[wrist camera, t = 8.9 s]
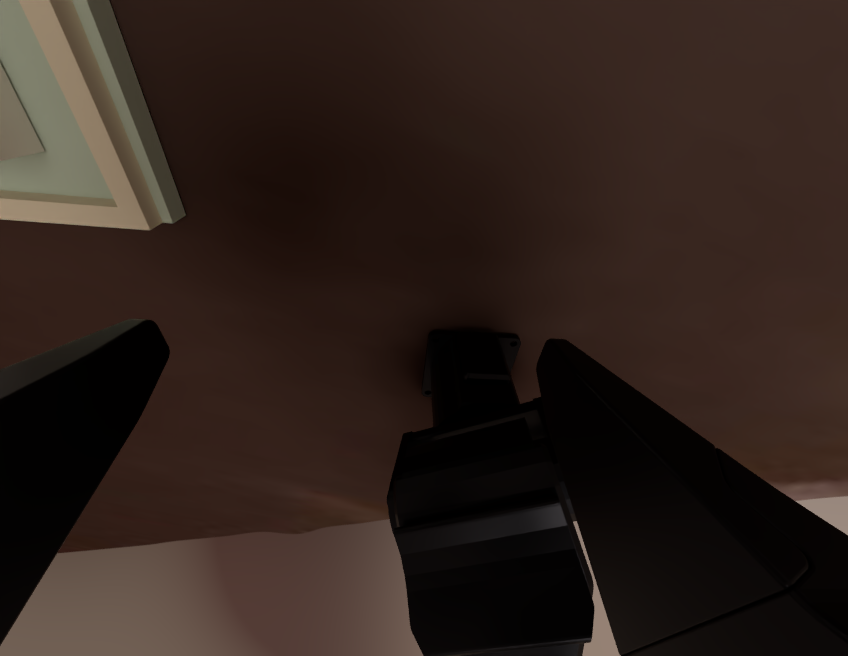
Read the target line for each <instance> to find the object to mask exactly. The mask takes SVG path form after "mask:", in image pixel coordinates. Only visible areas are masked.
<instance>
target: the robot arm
mask: <svg viewBox="0 0 848 656" xmlns="http://www.w3.org/2000/svg"><path fill="white" fill-rule="evenodd" d="M434 337H438V338H437V339H434ZM513 341H515V342H514V343H511V342H513ZM520 345H521V341H520V339H519V337H518V336H517V335H508V334H490V333H472V332H454V331H432V332H431V333H429V336H428V344H427V351H426V359H425V367H424V375H423V382H422V394H423V396H426V397H432V412H433V427H432V428H428V429H425V430H421V431H417V432H412V431H411V432H407V433H404V434H403V436H402V440H401V444H400V448H399V452H398V455H397V459H396V463H395V467H394V471H393V474H392V478H391V482H390V487H389V491H388V495H387V504H388V508H389V517H390V523H391V527H392V531H393V534H394V537H395V539H396V542H397V546H398V549H399V552H400V555H401V559H402V564H403V569H404V574H405V581H406V588H407V597H408V607H409V618H410V626H411V630H412V633H413V635H414V637H415V639H416V641H417V643H418V645H419V647H420V649H421V651H422V653H423V655H424V656H582V653H583V647H584V643H589V642H591V639H592V631H593V619H594V603H593V600H592V595H593V580H592V576H591V573H590V570H589V567H588V564H587V562H586V559H585V556H584V553H583V550H582V547H581V544H580V541H579V538H578V535H577V532H576V529H575V527H574V524H573V521H577V523H578V526H579V529H580V532H581V535H582V538H583V542H584V545H585V548H586V551H587V554H588V557H589V560H590V564H591V567H592V570H593V573H594V576H595V579H596V582H597V586H598V589H599V592H600V595H601V598H602V601H603V604H604V608H605V610H606V614H607V617H608V620H609V623H610V626H611V629H612V633H613V636H614V639H615V642H616V645H617V648H618V652H619V654H620V655H621V656H848V535H846V534H845V533H843V532H842V531H840V530H838V529H837V528H835V527H834V526H832V525H831V524H829V523H828V522H826V521H824V520H823V519H822V518H820V517H818V516H817V515H815V514H814V513H812V512H811V511H809V510H808V509H806V508H805V507H803V506H802V505H800V504H798V503H797V502H796V501H794V500H793V499H791V498H789V497H788V496H786V495H785V494H783V493H782V492H780V491H779V490H777V489H776V488H774V487H773V486H771V485H770V484H769V483H767V482H766V481H764V480H763V479H761V478H760V477H758V476H757V475H756V474H754V473H753V472H751V471H750V470H748V469H747V468H746V467H744V466H743V465H741V464H740V463H738V462H737V461H736V460H734V459H733V458H731V457H730V456H729V455H727V454H726V453H724V452H723V451H722V450H720V449H718V448H715V446H714V445H713V444H712V443H710V442H709V441H707V440H706V439H705V438H703V437H702V436H700V435H699V434H698V433H696V432H695V431H693V430H692V429H691V428H689V427H688V426H686V425H685V424H684V423H682V422H681V421H679V420H678V419H677V418H675V417H674V416H672V415H671V414H670V413H668V412H667V411H665V410H664V409H663V408H661V407H660V406H658V405H657V404H656V403H654V402H653V401H651V400H650V399H649V398H647V397H646V396H644V395H643V394H642V393H640V392H639V391H637V390H636V389H635V388H633V387H632V386H630V385H629V384H628V383H626V382H625V381H623V380H622V379H621V378H619V377H618V376H616V375H615V374H614V373H612V372H611V371H609V370H608V369H607V368H605V367H604V366H602V365H601V364H599V363H598V362H597V361H595V360H594V359H592V358H591V357H590V356H588V355H587V354H585V353H584V352H583V351H581V350H580V349H578V348H577V347H576V346H574V345H573V344H571V343H570V342H569V341H567V340H565V339H548V340H547V341H546V343H545V345H544V347H543V350H542V352H541V355H540V357H539V360H538V362H537V368H536V371H537V377H538V382H539V387H540V393H541V397H539V398H535V399H533V401H530V402H526V403H522V404H520V402H519V399H518V396H517V393H516V390H515V387H514V384H513V380H512V377H511V374H510V372H511V369H512V367H513V364H514V361H515V358H516V356H517V353H518V350H519V347H520ZM169 354H170V350H169V346H168V344H167V343H166V341H165V339H164V337H163V335H162V333H161V331H160V329H159V327H158V326H157V324H156V323H155V322H154V321H152V320H147V319H129V320H126V321H123V322H121V323H118V324H116V325H113V326H111V327H108V328H106V329H103V330H100V331H98V332H95V333H93V334H90V335H88V336H85V337H83V338H80V339H77V340H75V341H72V342H70V343H67V344H65V345H62V346H60V347H57V348H54V349H52V350H49V351H47V352H44V353H42V354H39V355H36V356H34V357H31V358H29V359H26V360H24V361H21V362H19V363H16V364H13V365H11V366H8V367H6V368H3V369H1V370H0V645H1V644H2V642H3V640H4V639H5V637H6V636H7V634H8V632H9V631H10V629H11V627H12V626H13V624H14V623H15V621H16V619H17V618H18V616H19V614H20V613H21V611H22V610H23V608H24V606H25V605H26V603H27V601H28V600H29V598H30V596H31V595H32V593H33V592H34V590H35V588H36V587H37V585H38V583H39V582H40V580H41V579H42V577H43V575H44V574H45V572H46V570H47V569H48V567H49V566H50V564H51V562H52V561H53V559H54V557H55V555H56V554H57V553H58V551H59V549H60V548H61V546H62V544H63V543H64V541H65V539H66V538H67V536H68V535H69V533H70V531H71V530H72V528H73V526H74V525H75V523H76V522H77V520H78V518H79V517H80V515H81V513H82V512H83V510H84V509H85V507H86V505H87V504H88V502H89V500H90V499H91V497H92V495H93V494H94V492H95V491H96V489H97V487H98V486H99V484H100V482H101V481H102V479H103V478H104V476H105V474H106V473H107V471H108V469H109V468H110V466H111V465H112V463H113V461H114V460H115V458H116V456H117V455H118V453H119V451H120V450H121V448H122V447H123V445H124V443H125V442H126V440H127V438H128V437H129V435H130V434H131V432H132V430H133V429H134V427H135V425H136V424H137V422H138V420H139V418H140V417H141V415H142V413H143V411H144V409H145V407H146V405H147V403H148V401H149V398H150V396H151V394H152V392H153V390H154V388H155V386H156V384H157V382H158V379H159V377H160V375H161V373H162V371H163V369H164V367H165V365H166V363H167V361H168V358H169ZM428 390H429V391H428Z"/></svg>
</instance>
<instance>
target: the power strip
mask: <svg viewBox="0 0 848 656" xmlns="http://www.w3.org/2000/svg"><path fill="white" fill-rule="evenodd" d="M40 152H44V149H43V147H42V145H41V143H40V141H39V139H38V137H37V135H36V133H35V131H34V129H33V127H32V125H31V123H30V121H29V119H28V117H27V115H26V113H25V111H24V109H23V107H22V105H21V103H20V101H19V99H18V97H17V95H16V93H15V91H14V89H13V87H12V85H11V83H10V81H9V79H8V77H7V75H6V73H5V72H4V70H3V68H2V66H1V64H0V161H3V160H8V159H12V158H17V157H22V156H26V155H31V154H35V153H40Z"/></svg>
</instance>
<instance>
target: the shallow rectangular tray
mask: <svg viewBox="0 0 848 656" xmlns="http://www.w3.org/2000/svg"><path fill="white" fill-rule="evenodd" d="M0 64H1V66H2V68H3V70H4V72H5V73H6V75H7V77H8V79H9V81H10V83H11V85H12V87H13V89H14V91H15V93H16V95H17V97H18V99H19V101H20V103H21V105H22V107H23V109H24V111H25V113H26V115H27V117H28V119H29V121H30V123H31V125H32V127H33V129H34V131H35V133H36V135H37V137H38V139H39V141H40V143H41V145H42V147H43V149H44V152H40V153H35V154H31V155H26V156H22V157H17V158H12V159H8V160H3V161H0V219H4V220H18V221H31V222H45V223H58V224H72V225H85V226H99V227H112V228H126V229H140V230H152V229H153V228H155V227H156V226H158V225H160V224H161V223H175V222H176V221H178V220H179V219H181V218H183V217H184V216H186V214H185V211H184V208H183V205H182V202H181V200H180V197H179V194H178V191H177V188H176V186H175V183H174V180H173V177H172V174H171V172H170V169H169V166H168V163H167V160H166V158H165V155H164V152H163V149H162V146H161V144H160V141H159V138H158V135H157V132H156V130H155V127H154V124H153V121H152V118H151V116H150V113H149V110H148V107H147V105H146V102H145V99H144V96H143V93H142V91H141V88H140V85H139V82H138V79H137V77H136V74H135V71H134V68H133V65H132V63H131V60H130V57H129V54H128V51H127V49H126V46H125V43H124V40H123V37H122V35H121V32H120V29H119V26H118V23H117V21H116V18H115V15H114V12H113V9H112V7H111V4H110V1H109V0H0Z"/></svg>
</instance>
